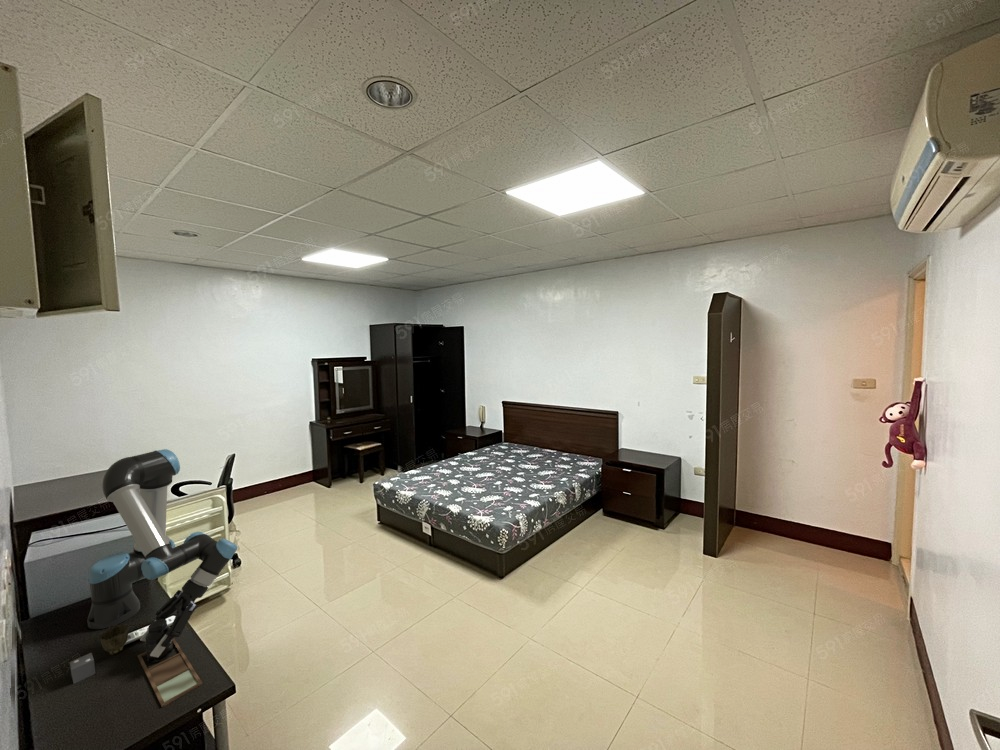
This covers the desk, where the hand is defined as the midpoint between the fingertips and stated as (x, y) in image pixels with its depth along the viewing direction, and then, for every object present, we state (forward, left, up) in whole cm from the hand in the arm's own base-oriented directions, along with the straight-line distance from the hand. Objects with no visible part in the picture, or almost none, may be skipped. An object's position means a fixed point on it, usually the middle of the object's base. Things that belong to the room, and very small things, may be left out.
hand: (148, 648), depth 138 cm
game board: (+7, +7, -5) cm, 11 cm away
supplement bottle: (-1, +2, -5) cm, 6 cm away
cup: (-10, -12, -5) cm, 17 cm away
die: (-2, -18, -5) cm, 19 cm away
